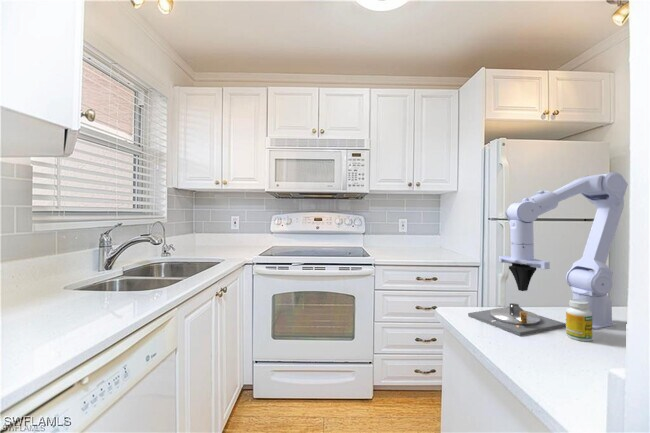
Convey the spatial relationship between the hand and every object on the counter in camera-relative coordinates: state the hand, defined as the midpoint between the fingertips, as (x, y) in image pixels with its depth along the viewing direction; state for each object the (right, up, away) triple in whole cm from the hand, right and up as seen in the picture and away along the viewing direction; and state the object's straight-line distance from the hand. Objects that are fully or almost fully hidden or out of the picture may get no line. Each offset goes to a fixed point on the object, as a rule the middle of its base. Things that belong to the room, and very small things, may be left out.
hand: (522, 290), depth 92 cm
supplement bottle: (+9, -10, -10) cm, 17 cm away
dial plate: (0, -10, +4) cm, 11 cm away
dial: (0, -9, +3) cm, 10 cm away
